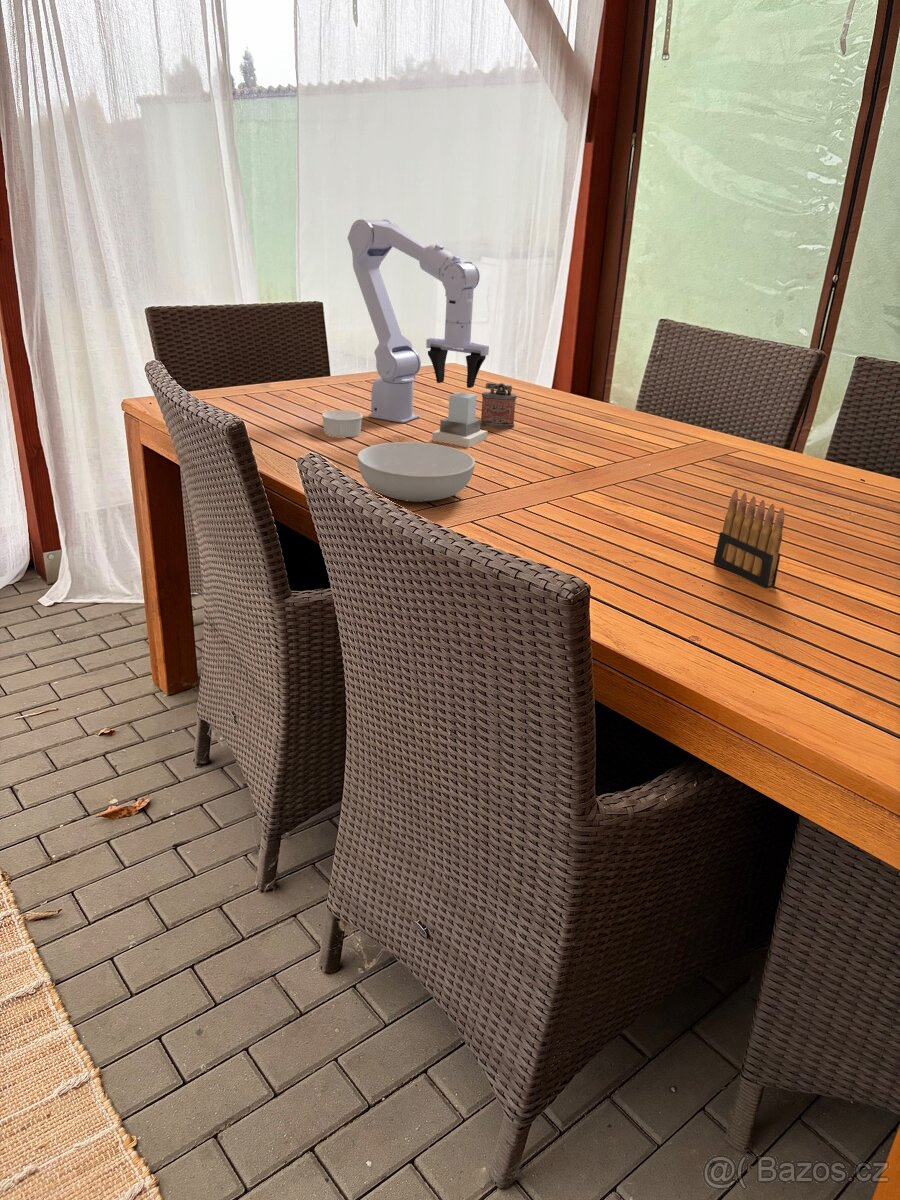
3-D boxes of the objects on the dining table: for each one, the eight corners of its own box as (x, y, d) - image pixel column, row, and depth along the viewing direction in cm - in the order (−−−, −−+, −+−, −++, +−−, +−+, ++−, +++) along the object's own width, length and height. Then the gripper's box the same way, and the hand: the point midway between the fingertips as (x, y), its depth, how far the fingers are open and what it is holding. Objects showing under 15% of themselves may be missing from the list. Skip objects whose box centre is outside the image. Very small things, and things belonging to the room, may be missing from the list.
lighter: (514, 425, 211) (517, 382, 206) (513, 428, 208) (517, 385, 203) (480, 422, 211) (483, 380, 207) (479, 426, 208) (482, 383, 204)
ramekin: (314, 435, 193) (314, 415, 192) (334, 427, 201) (334, 407, 199) (350, 441, 191) (350, 421, 189) (369, 432, 198) (369, 413, 196)
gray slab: (439, 431, 195) (440, 420, 193) (454, 425, 200) (455, 414, 199) (465, 436, 192) (466, 425, 191) (479, 430, 197) (480, 419, 196)
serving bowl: (385, 519, 147) (386, 479, 144) (339, 483, 164) (339, 446, 161) (494, 506, 156) (496, 468, 154) (440, 472, 173) (441, 437, 170)
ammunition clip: (712, 562, 137) (727, 488, 132) (721, 560, 138) (736, 486, 133) (766, 588, 129) (783, 510, 124) (774, 586, 130) (792, 508, 125)
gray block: (448, 421, 193) (449, 395, 191) (456, 417, 197) (457, 392, 195) (467, 423, 192) (468, 398, 189) (475, 419, 195) (476, 394, 193)
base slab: (432, 443, 195) (432, 432, 193) (451, 435, 202) (451, 424, 201) (468, 450, 191) (469, 439, 190) (486, 442, 198) (487, 431, 197)
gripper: (420, 319, 193) (418, 382, 198) (480, 327, 187) (476, 392, 192) (436, 316, 198) (433, 378, 204) (494, 324, 192) (490, 387, 198)
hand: (455, 384), depth 199 cm, fingers open, 7 cm apart
